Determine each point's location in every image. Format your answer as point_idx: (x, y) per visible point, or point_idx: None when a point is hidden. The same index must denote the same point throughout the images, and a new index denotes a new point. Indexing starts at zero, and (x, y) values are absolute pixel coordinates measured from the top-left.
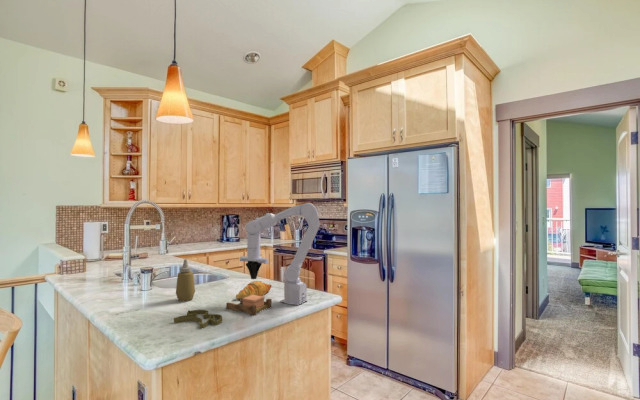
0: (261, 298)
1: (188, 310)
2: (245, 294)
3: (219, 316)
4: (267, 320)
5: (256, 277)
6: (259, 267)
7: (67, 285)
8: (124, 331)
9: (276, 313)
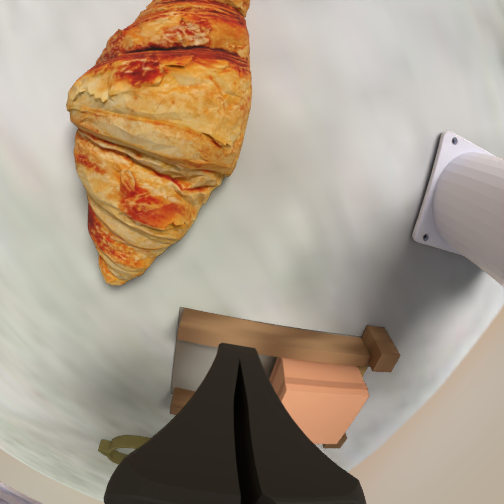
0: (358, 407)
1: (99, 450)
2: (155, 255)
3: None
4: (391, 427)
5: (258, 358)
6: (313, 454)
7: None
8: (92, 493)
9: (414, 375)
